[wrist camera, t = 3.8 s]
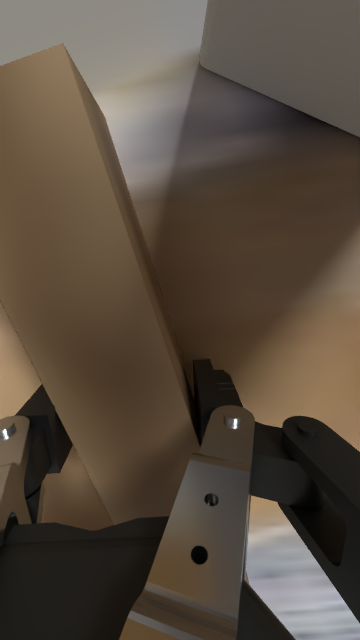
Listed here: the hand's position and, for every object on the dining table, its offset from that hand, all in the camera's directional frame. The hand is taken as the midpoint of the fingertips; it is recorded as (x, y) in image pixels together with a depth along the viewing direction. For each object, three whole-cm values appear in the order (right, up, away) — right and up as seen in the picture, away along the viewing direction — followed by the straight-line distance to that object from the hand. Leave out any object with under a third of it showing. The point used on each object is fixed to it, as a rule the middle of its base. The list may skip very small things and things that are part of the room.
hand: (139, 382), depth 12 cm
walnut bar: (0, 0, +1) cm, 1 cm away
